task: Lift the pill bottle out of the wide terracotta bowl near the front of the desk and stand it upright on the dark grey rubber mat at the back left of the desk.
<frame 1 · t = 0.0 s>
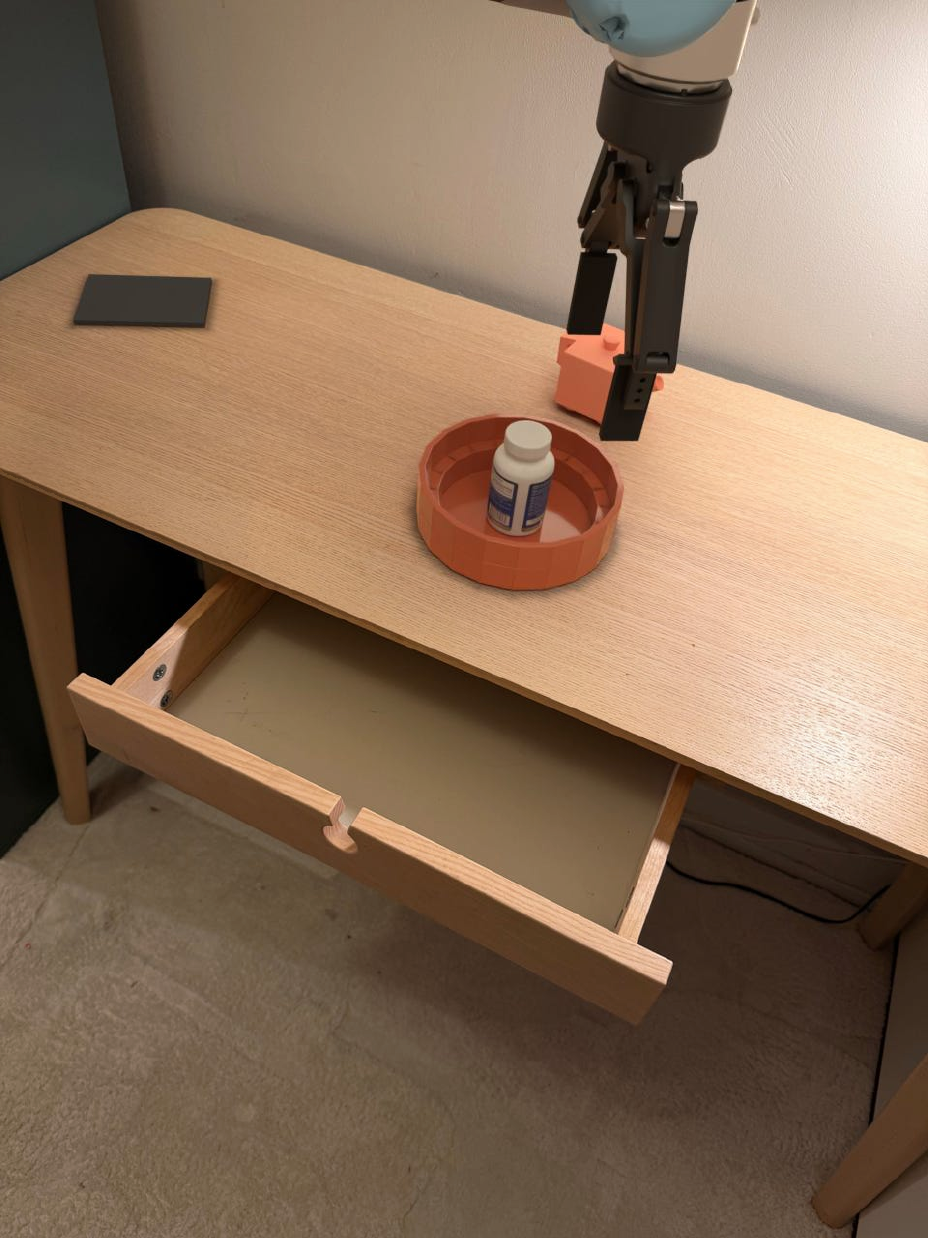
hand: (599, 382, 69), 18 cm above the table, tool pointing down, fingers open, 13 cm apart
mat: (145, 302, 104), on the table
pill bottle: (514, 520, 85), resting on bowl
bowl: (514, 520, 85), on the table
pink cube teapot: (601, 408, 98), on the table
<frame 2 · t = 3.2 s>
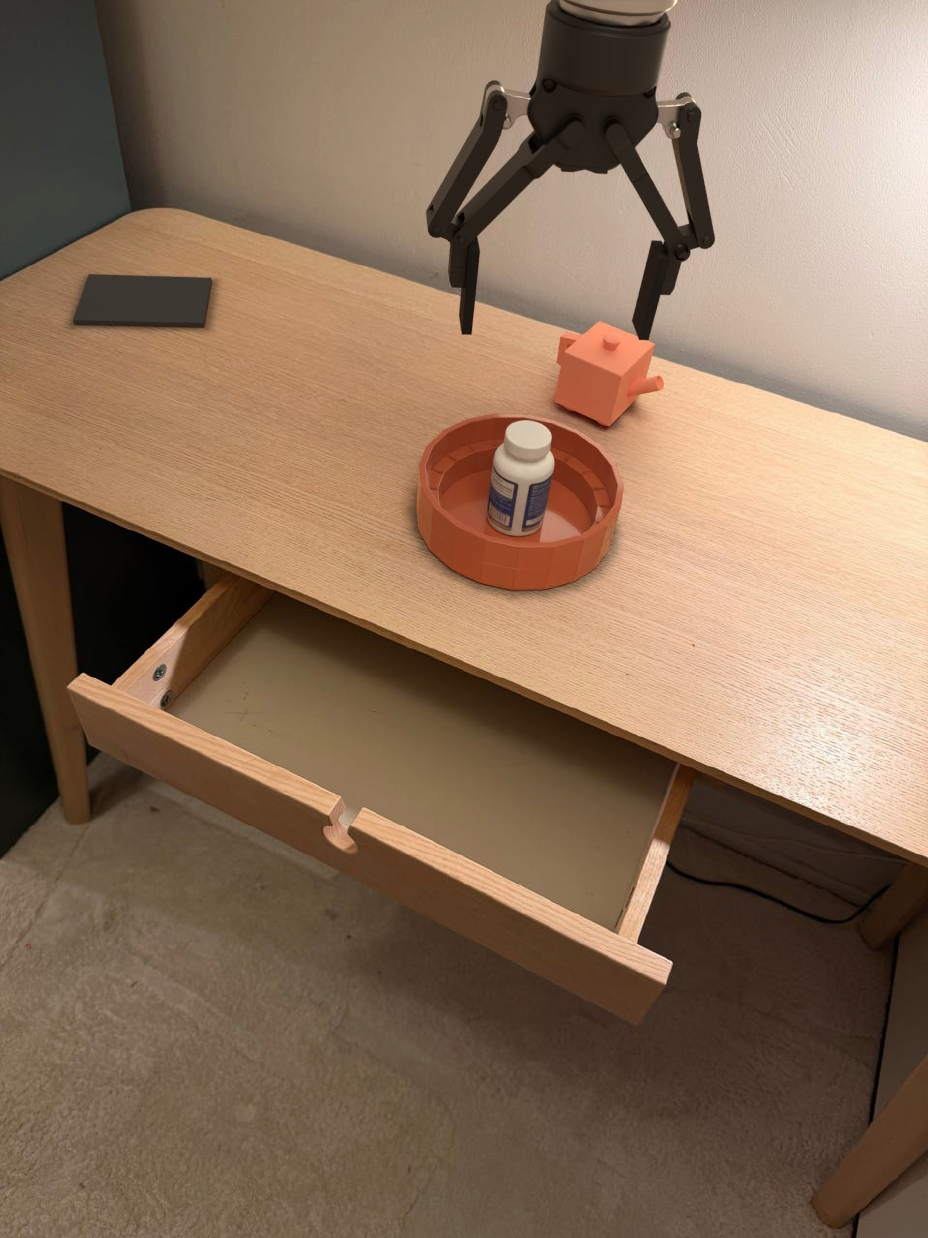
hand: (553, 328, 69), 20 cm above the table, tool pointing down, fingers open, 13 cm apart
nothing on the table moved.
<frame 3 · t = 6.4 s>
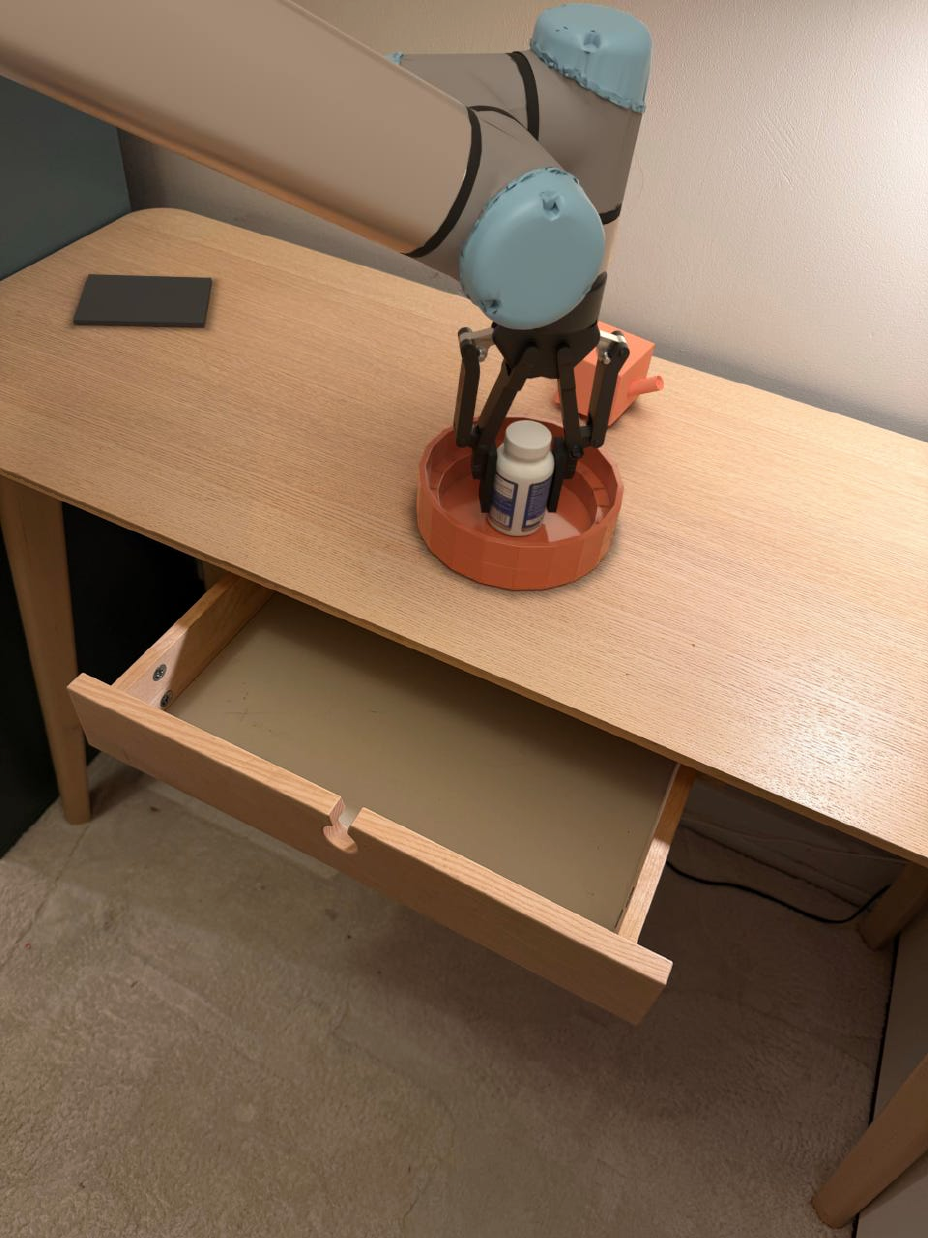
hand: (517, 502, 83), 2 cm above the table, tool pointing down, fingers closed on pill bottle, 5 cm apart
pill bottle: (514, 520, 85), resting on bowl, touching gripper
everything else where it was.
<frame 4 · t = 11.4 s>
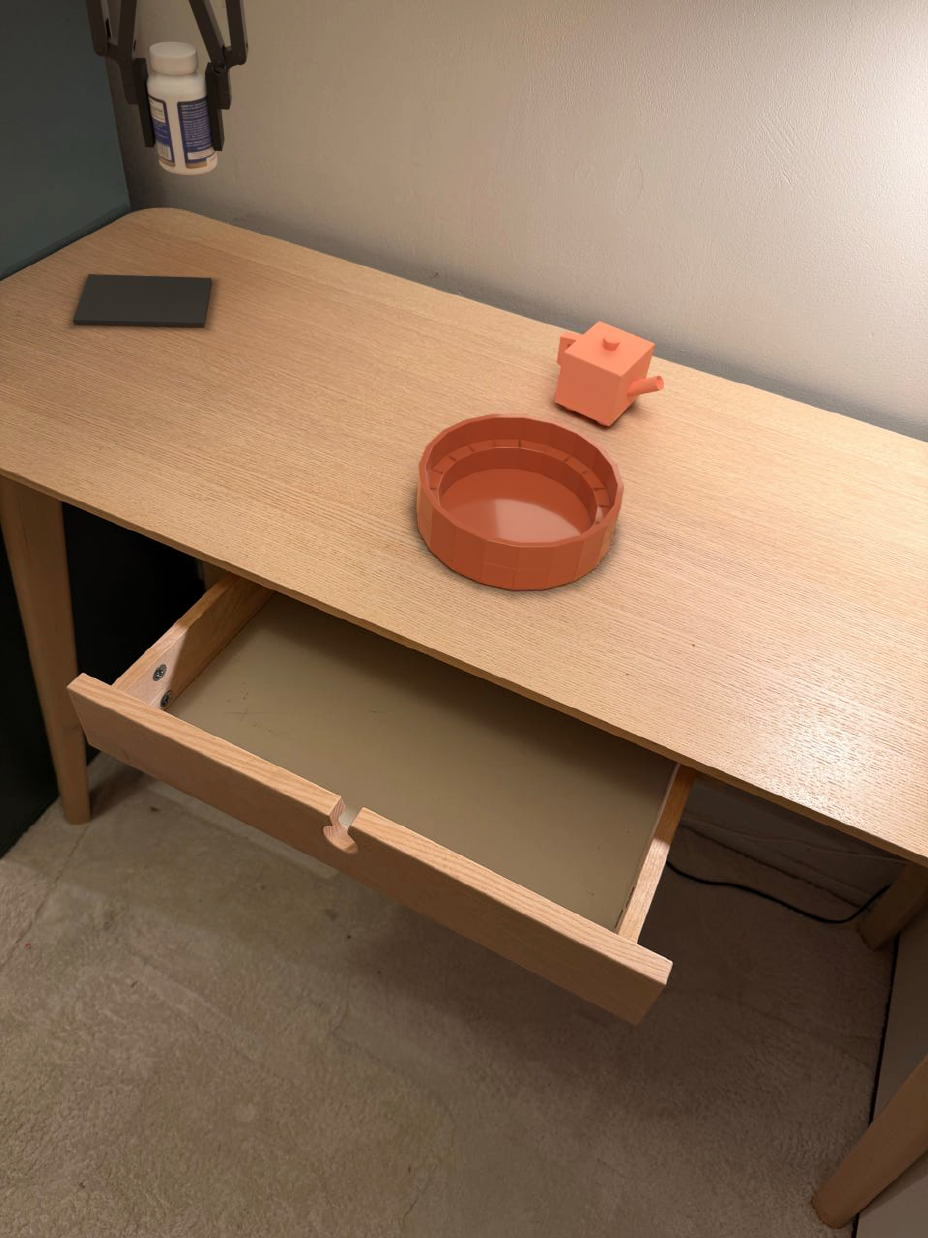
hand: (185, 142, 85), 21 cm above the table, tool pointing down, fingers closed on pill bottle, 5 cm apart
pill bottle: (189, 166, 86), point 19 cm above the table, touching gripper
everything else where it was.
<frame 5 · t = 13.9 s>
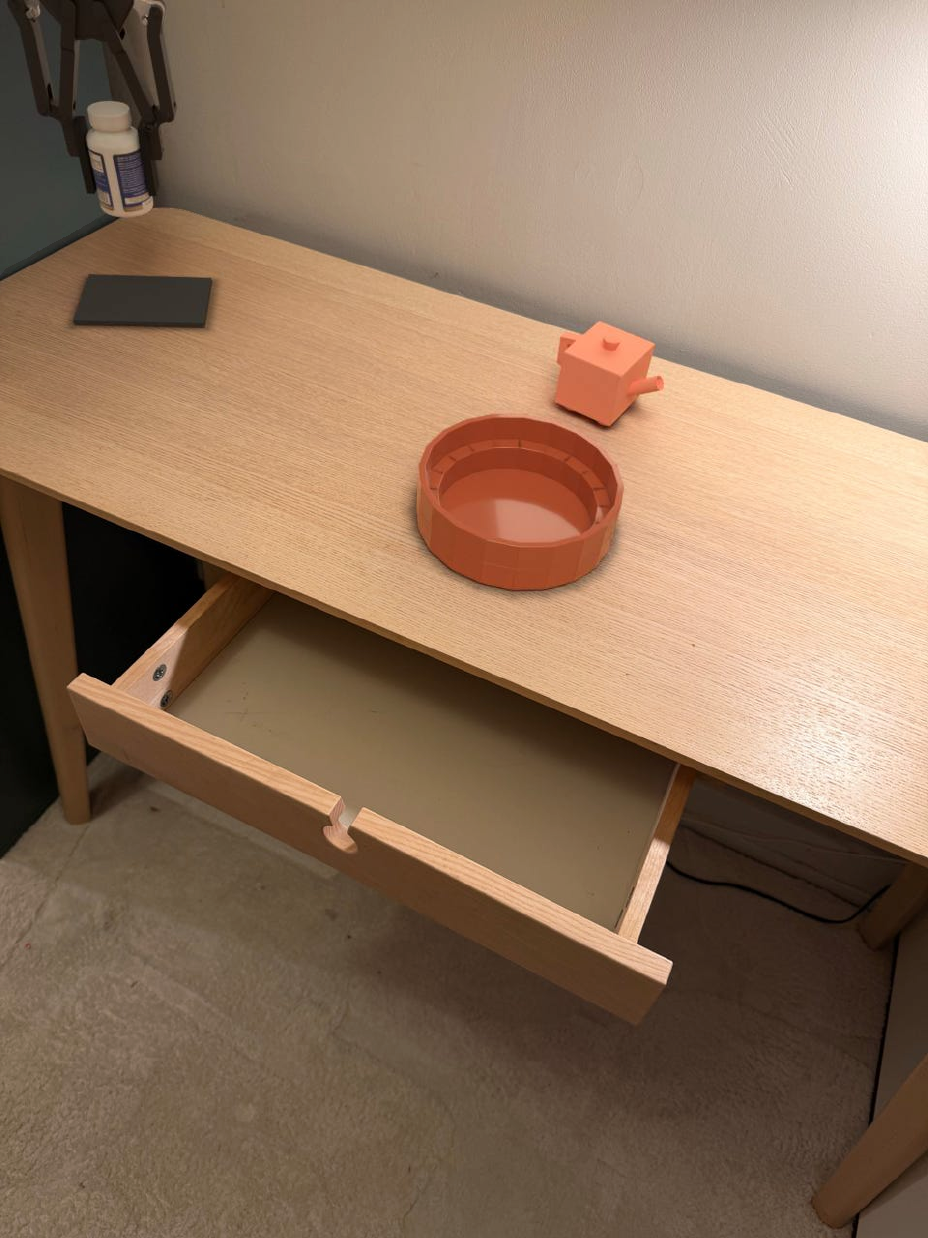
hand: (123, 188, 95), 13 cm above the table, tool pointing down, fingers closed on pill bottle, 5 cm apart
pill bottle: (127, 209, 96), point 11 cm above the table, touching gripper
everything else where it was.
when the fingers open (3 cm above the table, at t = 16.5 s): pill bottle stays where it is, resting on mat.
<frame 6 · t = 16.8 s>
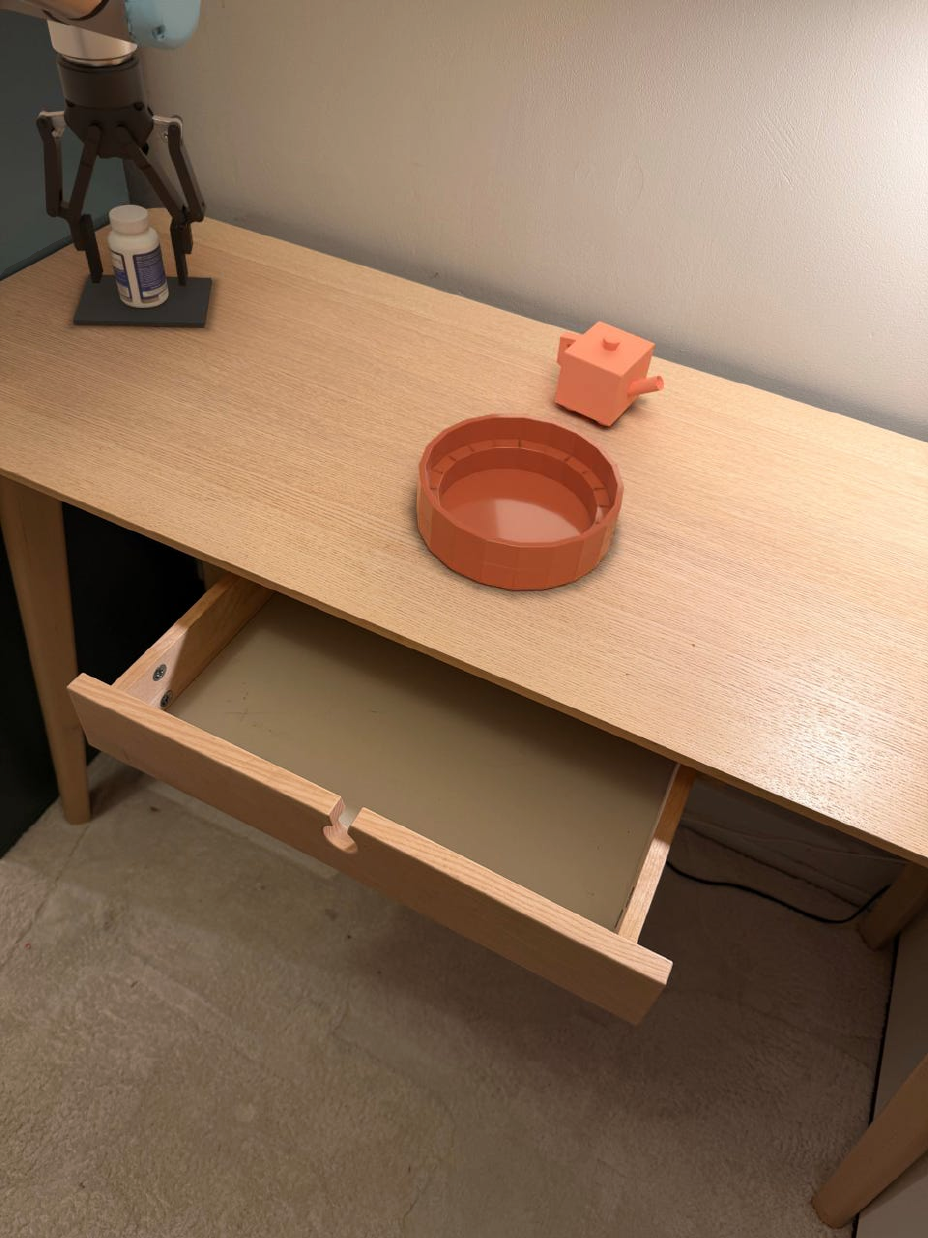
hand: (141, 278, 102), 3 cm above the table, tool pointing down, fingers open, 9 cm apart
pill bottle: (145, 298, 104), resting on mat
everything else where it was.
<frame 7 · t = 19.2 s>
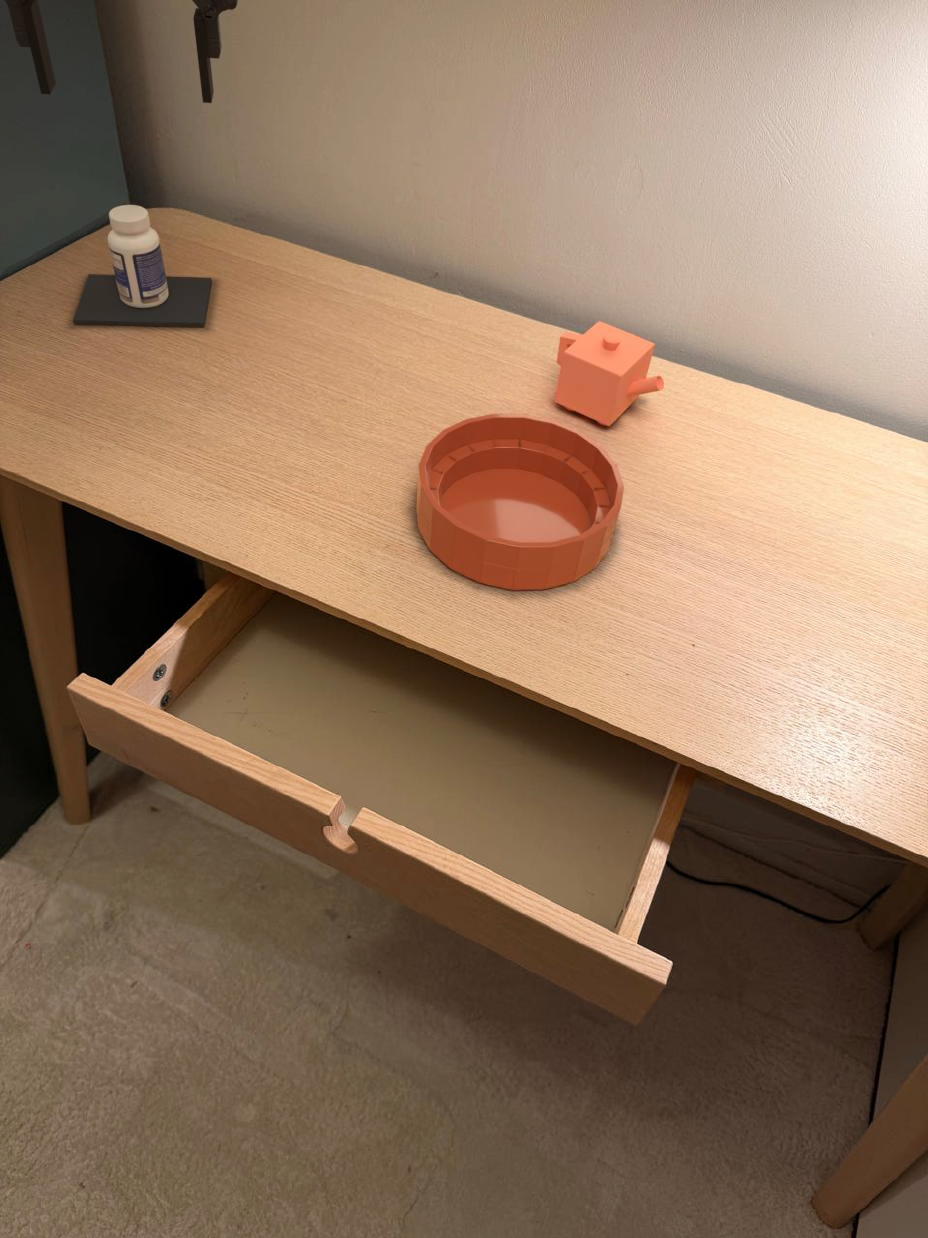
hand: (129, 93, 81), 25 cm above the table, tool pointing down, fingers open, 13 cm apart
nothing on the table moved.
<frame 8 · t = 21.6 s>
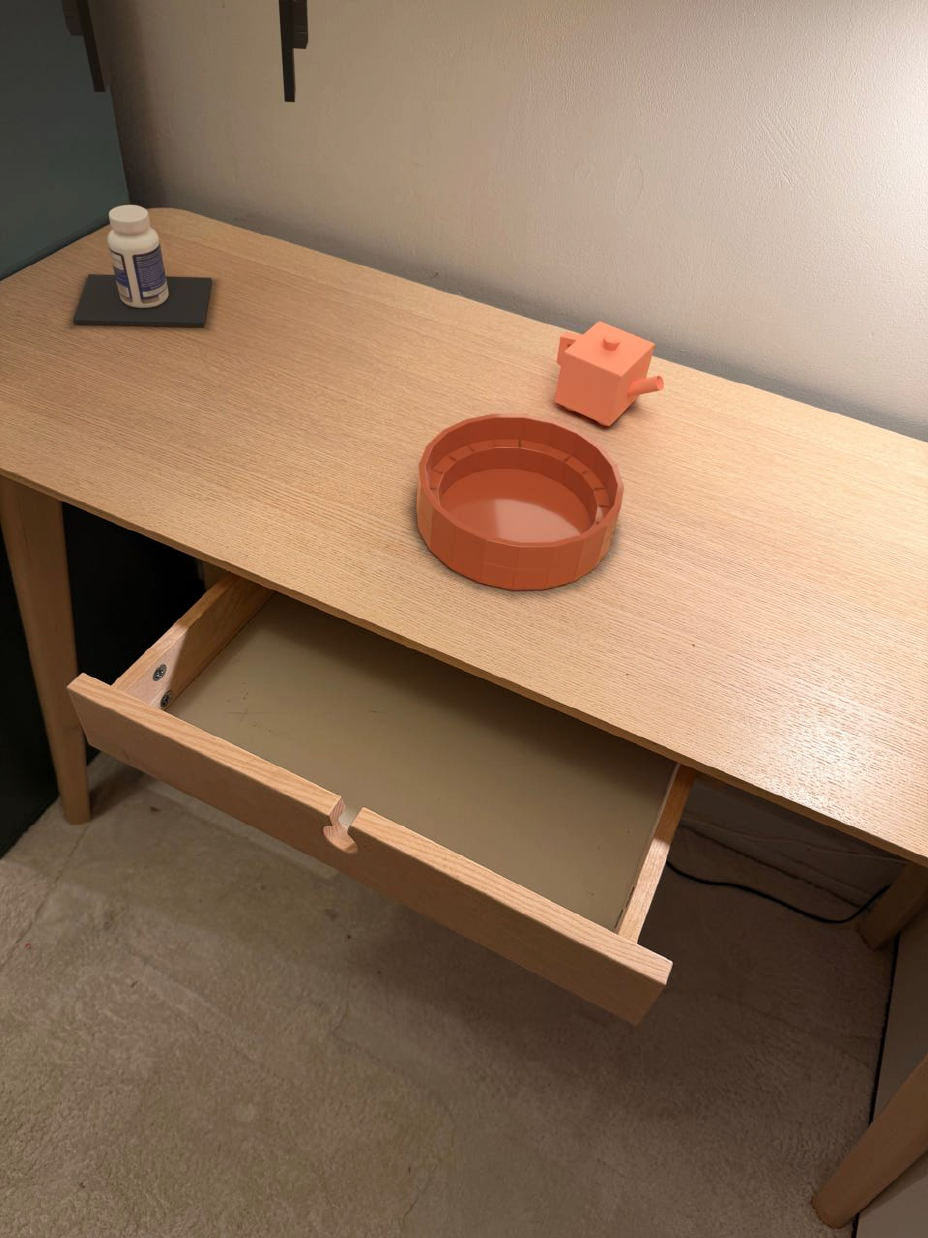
hand: (197, 90, 68), 31 cm above the table, tool pointing down, fingers open, 13 cm apart
nothing on the table moved.
at the end: pill bottle inside the target area on the mat (0.0 cm from its centre), point 0.4 cm above the mat's base; pill bottle tilted 0°; the gripper is holding nothing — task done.
